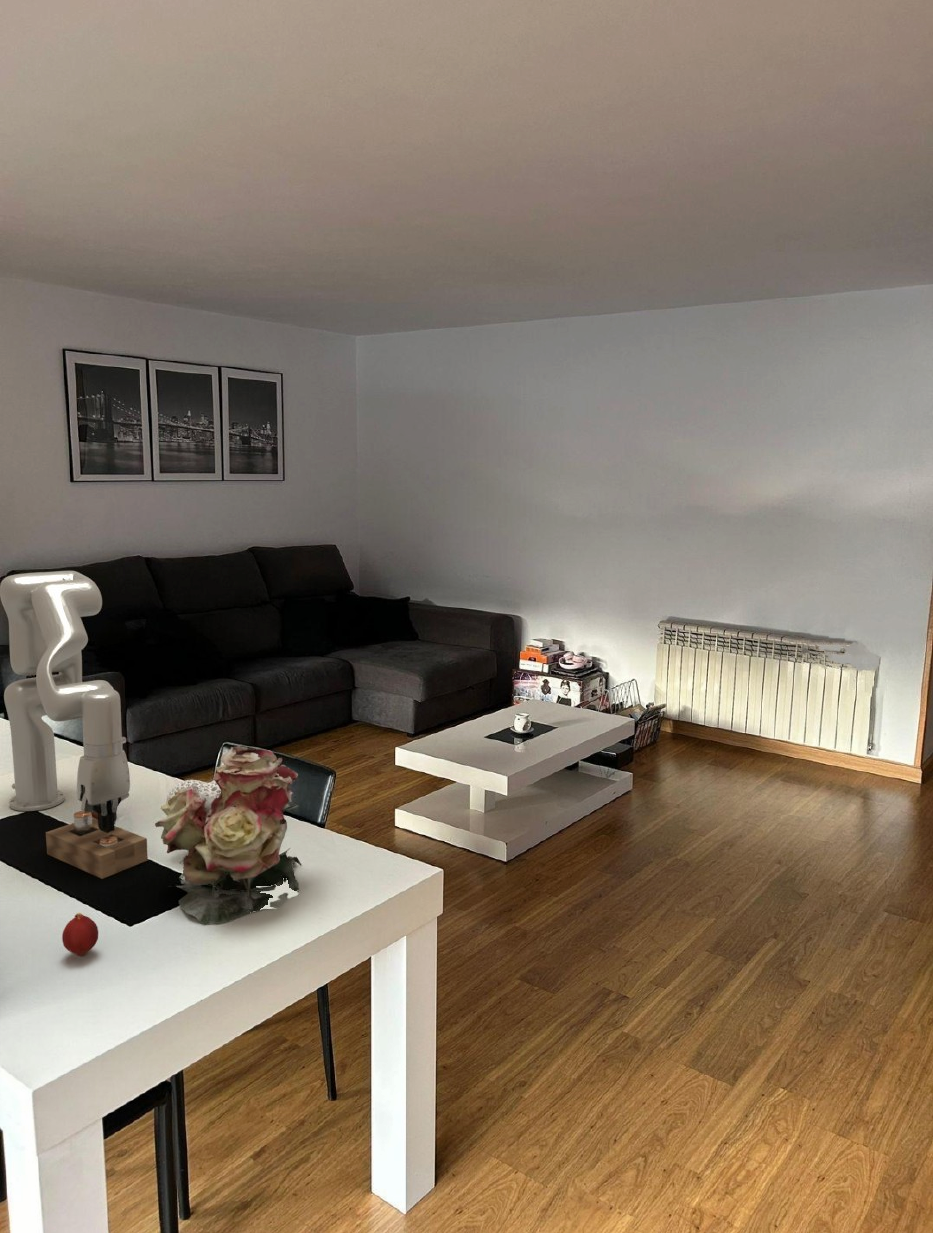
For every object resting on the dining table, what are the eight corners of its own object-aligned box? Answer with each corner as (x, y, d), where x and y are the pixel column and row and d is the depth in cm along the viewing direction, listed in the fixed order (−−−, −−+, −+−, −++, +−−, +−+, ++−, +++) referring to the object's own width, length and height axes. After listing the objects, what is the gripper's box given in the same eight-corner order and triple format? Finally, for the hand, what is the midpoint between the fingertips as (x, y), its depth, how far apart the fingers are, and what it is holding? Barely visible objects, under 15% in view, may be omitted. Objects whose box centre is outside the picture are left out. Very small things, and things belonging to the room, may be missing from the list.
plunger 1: (71, 834, 201) (70, 814, 200) (86, 829, 203) (85, 809, 203) (81, 838, 199) (79, 817, 198) (96, 833, 201) (94, 812, 201)
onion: (70, 946, 163) (67, 904, 162) (103, 945, 164) (101, 903, 162) (58, 964, 157) (55, 921, 156) (93, 963, 158) (90, 920, 156)
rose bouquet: (154, 878, 190) (147, 738, 185) (294, 856, 201) (292, 724, 196) (167, 938, 167) (160, 780, 161) (325, 909, 178) (323, 760, 173)
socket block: (47, 854, 200) (45, 832, 199) (92, 837, 209) (91, 816, 208) (102, 878, 189) (100, 855, 188) (147, 860, 198) (146, 838, 197)
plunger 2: (97, 861, 196) (95, 840, 195) (111, 855, 199) (110, 834, 198) (107, 865, 194) (106, 844, 193) (122, 859, 197) (121, 838, 196)
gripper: (123, 735, 201) (126, 814, 204) (59, 753, 188) (64, 837, 192) (144, 742, 196) (147, 823, 200) (81, 761, 184) (85, 846, 188)
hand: (106, 829), depth 196 cm, fingers closed
